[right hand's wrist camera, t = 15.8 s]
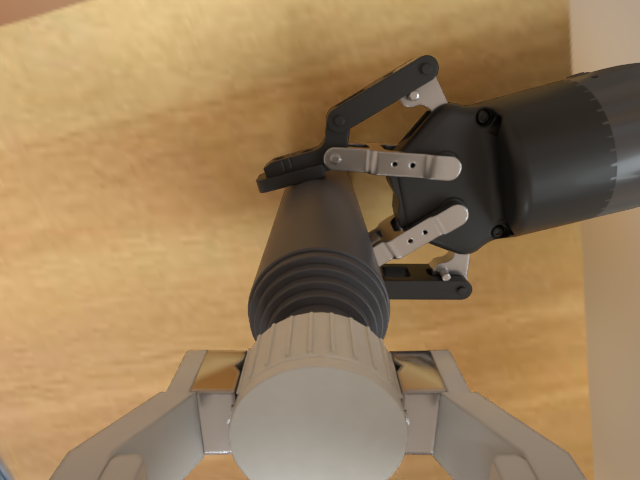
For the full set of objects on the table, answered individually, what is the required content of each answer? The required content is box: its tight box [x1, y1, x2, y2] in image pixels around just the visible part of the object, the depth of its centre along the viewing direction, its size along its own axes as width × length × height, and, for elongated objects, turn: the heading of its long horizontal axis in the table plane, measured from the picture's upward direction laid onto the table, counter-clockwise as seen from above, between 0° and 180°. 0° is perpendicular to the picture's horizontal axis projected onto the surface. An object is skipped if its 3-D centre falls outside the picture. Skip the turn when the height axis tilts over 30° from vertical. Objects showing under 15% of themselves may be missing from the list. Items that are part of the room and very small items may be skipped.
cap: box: [228, 312, 408, 480], centre depth 10 cm, size 4×4×2 cm
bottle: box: [248, 170, 390, 341], centre depth 19 cm, size 5×5×22 cm
